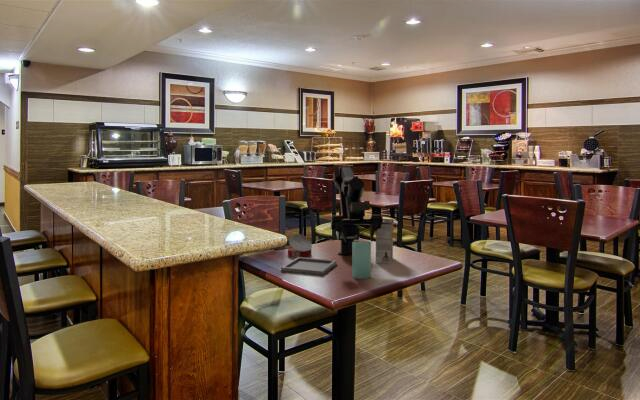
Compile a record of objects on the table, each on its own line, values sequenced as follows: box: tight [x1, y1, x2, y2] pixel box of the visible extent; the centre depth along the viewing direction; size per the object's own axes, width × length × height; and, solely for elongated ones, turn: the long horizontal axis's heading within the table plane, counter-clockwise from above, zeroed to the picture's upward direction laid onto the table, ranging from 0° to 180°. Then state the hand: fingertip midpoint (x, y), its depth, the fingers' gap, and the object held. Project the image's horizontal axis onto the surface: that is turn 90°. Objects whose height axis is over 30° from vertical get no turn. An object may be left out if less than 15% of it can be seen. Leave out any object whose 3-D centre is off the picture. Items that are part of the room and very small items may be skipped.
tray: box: [280, 257, 338, 277], centre depth 172 cm, size 16×16×2 cm
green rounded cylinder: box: [351, 240, 372, 280], centre depth 160 cm, size 6×6×12 cm
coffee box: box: [375, 218, 394, 264], centre depth 181 cm, size 9×6×16 cm
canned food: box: [287, 233, 313, 259], centre depth 191 cm, size 11×10×10 cm
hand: (359, 241), depth 164 cm, fingers open, 9 cm apart
